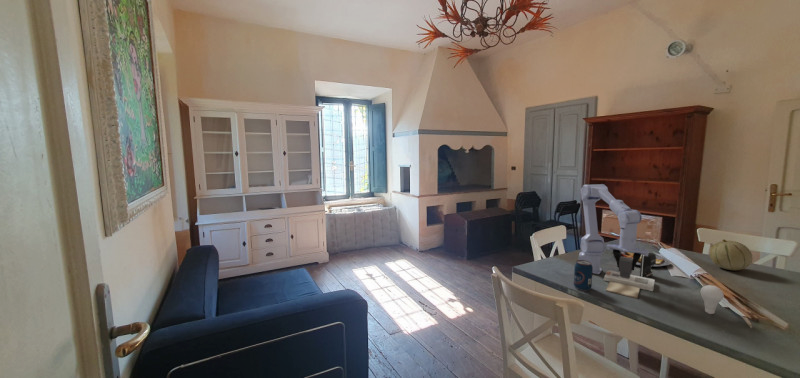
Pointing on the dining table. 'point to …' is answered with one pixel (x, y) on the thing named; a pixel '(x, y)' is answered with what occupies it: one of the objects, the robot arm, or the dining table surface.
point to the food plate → (659, 260)
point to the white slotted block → (630, 280)
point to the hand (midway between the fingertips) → (625, 268)
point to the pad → (623, 289)
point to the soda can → (583, 275)
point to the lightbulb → (711, 297)
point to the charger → (625, 266)
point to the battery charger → (647, 265)
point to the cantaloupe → (731, 255)
